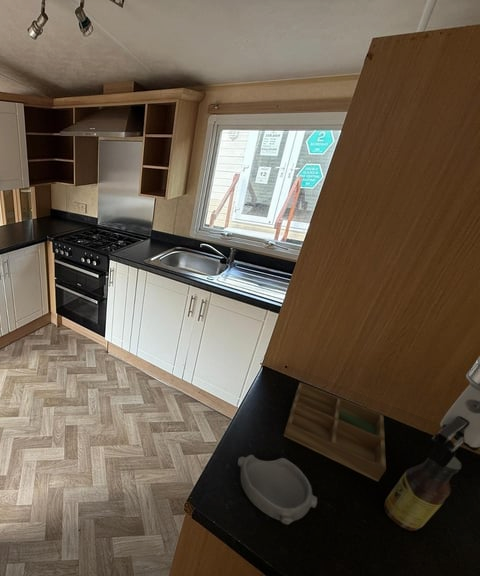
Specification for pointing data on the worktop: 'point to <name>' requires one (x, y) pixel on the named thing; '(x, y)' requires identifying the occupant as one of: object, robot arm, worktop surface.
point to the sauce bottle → (420, 493)
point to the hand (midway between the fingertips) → (449, 451)
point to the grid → (338, 430)
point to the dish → (276, 488)
